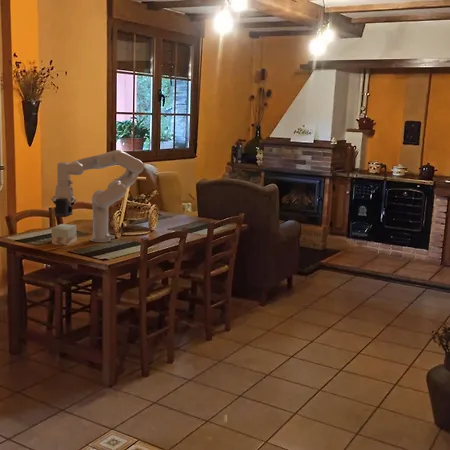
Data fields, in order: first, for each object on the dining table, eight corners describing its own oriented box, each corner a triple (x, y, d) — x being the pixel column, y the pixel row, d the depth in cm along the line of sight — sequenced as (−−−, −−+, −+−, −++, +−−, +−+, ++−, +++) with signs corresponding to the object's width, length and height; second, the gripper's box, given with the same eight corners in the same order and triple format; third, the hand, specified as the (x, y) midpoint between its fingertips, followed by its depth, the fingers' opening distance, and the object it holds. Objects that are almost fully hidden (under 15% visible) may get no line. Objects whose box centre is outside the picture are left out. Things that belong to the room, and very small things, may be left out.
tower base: (76, 240, 369) (76, 232, 368) (67, 246, 356) (67, 237, 355) (61, 239, 370) (61, 231, 369) (52, 244, 357) (51, 236, 356)
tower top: (76, 232, 368) (76, 225, 367) (67, 237, 355) (67, 229, 354) (60, 231, 369) (60, 223, 368) (51, 236, 356) (51, 228, 355)
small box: (65, 217, 354) (65, 200, 352) (55, 216, 355) (54, 199, 353) (73, 214, 364) (73, 197, 362) (63, 213, 365) (63, 196, 363)
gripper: (80, 183, 358) (80, 212, 362) (52, 181, 360) (53, 210, 364) (75, 184, 351) (75, 214, 355) (47, 182, 353) (47, 212, 356)
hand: (64, 212), depth 359 cm, fingers closed on small box, 6 cm apart
